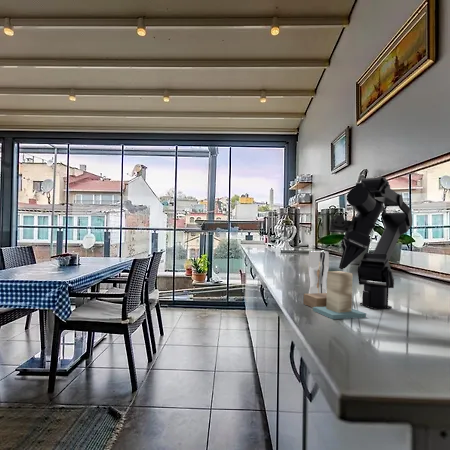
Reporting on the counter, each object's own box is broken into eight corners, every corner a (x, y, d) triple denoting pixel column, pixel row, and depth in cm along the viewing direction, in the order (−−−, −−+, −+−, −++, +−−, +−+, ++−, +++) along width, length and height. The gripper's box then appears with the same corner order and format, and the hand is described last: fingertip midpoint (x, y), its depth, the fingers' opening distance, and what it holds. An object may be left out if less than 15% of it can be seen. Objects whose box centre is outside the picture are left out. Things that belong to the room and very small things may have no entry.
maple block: (338, 307, 95) (339, 271, 95) (351, 311, 91) (352, 273, 91) (326, 308, 92) (327, 271, 93) (338, 312, 88) (339, 273, 89)
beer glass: (330, 294, 120) (331, 251, 121) (324, 297, 114) (325, 252, 115) (310, 292, 124) (312, 250, 124) (304, 294, 118) (305, 250, 118)
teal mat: (344, 309, 97) (344, 305, 97) (366, 317, 89) (366, 313, 89) (312, 310, 94) (313, 306, 94) (332, 319, 86) (332, 315, 86)
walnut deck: (326, 302, 105) (326, 293, 105) (340, 308, 99) (341, 297, 99) (303, 303, 103) (303, 293, 103) (316, 309, 96) (316, 298, 96)
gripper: (336, 213, 109) (315, 257, 109) (340, 200, 91) (314, 253, 91) (371, 228, 106) (349, 273, 105) (382, 217, 88) (355, 272, 88)
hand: (341, 268), depth 98 cm, fingers open, 9 cm apart
